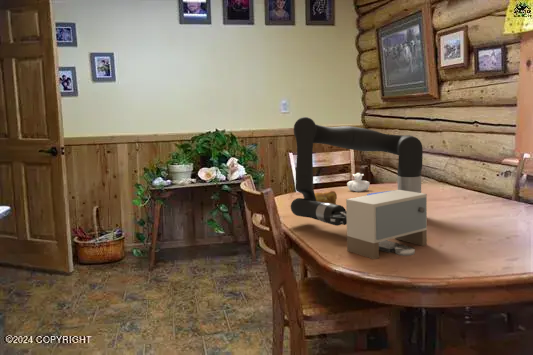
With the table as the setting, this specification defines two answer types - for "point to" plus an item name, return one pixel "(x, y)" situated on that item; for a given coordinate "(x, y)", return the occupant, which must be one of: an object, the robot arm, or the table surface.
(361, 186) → the white animal figurine
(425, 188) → the table surface
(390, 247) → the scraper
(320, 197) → the bread roll
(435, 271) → the table surface
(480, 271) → the table surface
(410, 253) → the steel token
